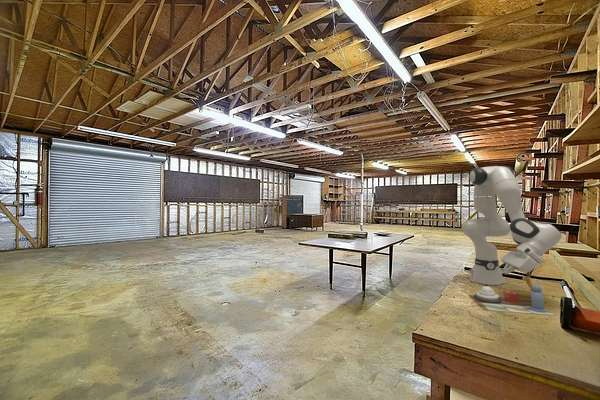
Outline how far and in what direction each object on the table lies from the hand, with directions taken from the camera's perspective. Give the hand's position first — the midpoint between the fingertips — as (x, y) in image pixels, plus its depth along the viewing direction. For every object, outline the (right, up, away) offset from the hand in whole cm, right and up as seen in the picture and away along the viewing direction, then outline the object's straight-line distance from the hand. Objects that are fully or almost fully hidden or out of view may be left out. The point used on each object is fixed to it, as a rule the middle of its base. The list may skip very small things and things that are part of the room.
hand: (504, 272), depth 129 cm
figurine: (+16, -15, +3) cm, 22 cm away
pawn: (+4, -13, -13) cm, 19 cm away
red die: (+3, -13, -1) cm, 13 cm away
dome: (-7, -12, +1) cm, 14 cm away
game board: (-3, -15, -5) cm, 16 cm away
